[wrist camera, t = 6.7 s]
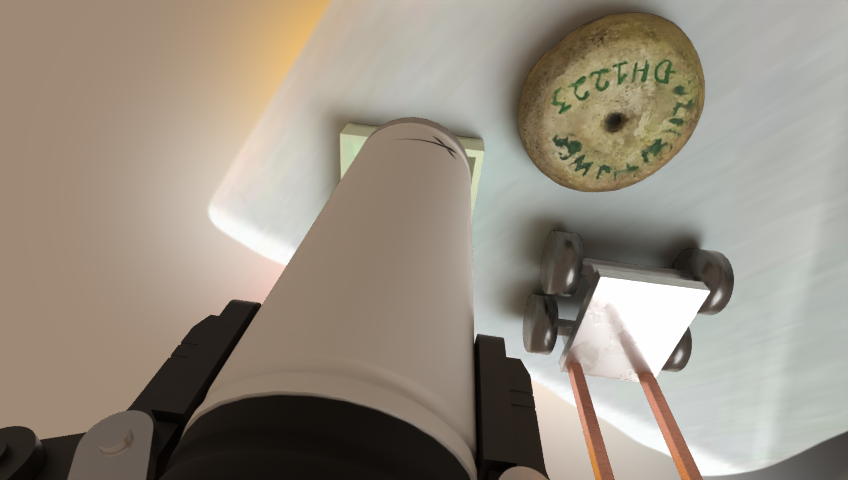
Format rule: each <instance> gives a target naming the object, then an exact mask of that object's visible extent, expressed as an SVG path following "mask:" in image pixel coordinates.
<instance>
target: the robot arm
mask: <svg viewBox="0 0 848 480" xmlns="http://www.w3.org/2000/svg"><path fill="white" fill-rule="evenodd" d="M261 306H262V305H261V304H260V303H257V302H249V301H242V300H231V301H230V302H229V303H228V305H227V306H226V307H225V309H224V310H223V311H222V313H221V314H220V315H219V316H215V315H210V316H208V317H207V318H205V319H204V320H202V321H201V322H200V323H198V324H197V325H195V326H194V327H193V328H192V329H191V330H190V332H189V333H188V334H187V335H186V337H185V338H184V339H183V340H182V342H181V345H178V347H177V348H176V349H175V350H174V352H173V353H172V354H171V358H168V359H167V361H166V362H165V363H164V364H163V366H162V367H161V368H160V370H159V371H158V372H157V373H156V375H155V376H154V377H153V378H152V380H151V381H150V382H149V384H148V385H147V386H146V387H145V389H144V390H143V391H142V392H141V394H140V395H139V396H138V397H137V399H136V400H135V401H134V402H133V404H132V405H131V406H130V407H129V408H128V409H127V410H126V411H123V412H119V413H116V414H113V415H111V416H109V417H107V418H105V419H103V420H101V421H100V422H98V423H97V424H95V425H94V426H93V427H92V428H91V429H89V430H88V432H85V433H81V434H75V435H68V436H61V437H55V438H49V439H43V440H39V439H38V438H37V436H36V435H35V434H34V432H33V431H32V430H30V429H29V428H26V427H21V426H12V427H6V428H2V429H0V480H159V479H160V478H161V477H162V476H163V475H164V472H165V469H166V466H167V464H168V462H169V459H170V457H171V455H172V453H173V451H174V450H175V448H176V447H177V445H178V443H179V442H180V439H181V437H182V434H183V432H184V429H185V427H186V425H187V423H188V422H189V420H190V419H191V417H192V415H193V414H194V412H195V411H196V409H197V408H198V407H199V406H200V405H201V404H202V403H203V402H204V400H205V398H206V395H207V393H208V391H209V388H210V387H211V385H212V384H213V382H214V380H215V379H216V377H217V376H218V374H219V373H220V371H221V369H222V368H223V366H224V365H225V363H226V361H227V360H228V358H229V357H230V355H231V353H232V352H233V350H234V349H235V347H236V346H237V344H238V342H239V341H240V339H241V338H242V336H243V334H244V333H245V331H246V330H247V328H248V327H249V325H250V323H251V322H252V320H253V319H254V317H255V315H256V314H257V312H258V311H259V309H260V307H261ZM474 356H475V401H476V447H477V456H476V462H475V465H476V468H477V480H550V479H549V477H548V475H547V472H546V469H545V464H544V458H543V453H542V446H541V440H540V434H539V427H538V421H537V415H536V411H535V403H534V397H533V390H532V384H531V378H530V374H529V373H528V371H527V369H526V368H525V366H524V364H523V363H522V361H521V360H520V359H516V358H509V357H506V351H505V342H504V338H502V337H495V336H488V335H481V334H477V337H476V340H475V344H474Z"/></svg>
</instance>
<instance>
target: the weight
mask: <svg viewBox="0 0 848 480" xmlns="http://www.w3.org/2000/svg"><path fill="white" fill-rule="evenodd" d="M704 98H705V80H704V75H703V70H702V66H701V62H700V59H699V57H698V54H697V52H696V50H695V48H694V46H693V44H692V42H691V41H690V39H689V38H688V37H687V35H686V34H685V33H684V32H683V31H682V30H681V29H680V28H679V27H678V26H677V25H675V24H674V23H673V22H671V21H669V20H667V19H665V18H662V17H660V16H656V15H653V14H646V13H620V14H611V15H607V16H603V17H601V18H598V19H595V20H593V21H590V22H588V23H586V24H584V25H582V26H580V27H578V28H577V29H575V30H574V31H572V32H571V33H570V34H568V35H567V36H566V37H565V38H563V39H562V40H561V41H560V42H559V43H558V44H557V45H556V46H555V47H554V48H553V49H551V50H550V51H548V52H547V53H545V54H544V55H543V56H542V57H541V58H540V59H539V61H538V62H537V63H536V65H535V66H534V67H533V68H532V70H531V71H530V74H529V76H528V78H527V80H526V83H525V85H524V88H523V91H522V95H521V98H520V101H519V108H518V124H519V130H520V137H521V140H522V144H523V146H524V149H525V150H526V152H527V154H528V156H529V157H530V159H531V160H532V162H533V163H534V164H535V165H536V167H537V168H538V169H539V170H540V171H541V172H542V173H543V174H545V175H546V176H547V177H549V178H550V179H552V180H553V181H554V182H556V183H557V184H559V185H561V186H564V187H567V188H570V189H573V190H578V191H583V192H605V191H615V190H619V189H621V188H625V187H628V186H631V185H633V184H635V183H638V182H640V181H642V180H644V179H645V178H647V177H648V176H650V175H652V174H654V173H655V172H656V171H658V170H659V169H660V168H661V167H663V166H664V165H665V164H667V163H668V162H669V161H670V160H671V159H672V158H673V157H674V156H675V155H676V154H677V153H678V152H679V151H680V150H681V149H682V148H683V146H684V145H685V144H686V143H687V141H688V140H689V138H690V137H691V135H692V133H693V131H694V130H695V128H696V126H697V124H698V121H699V119H700V116H701V113H702V110H703V106H704Z"/></svg>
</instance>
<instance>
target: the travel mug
mask: <svg viewBox="0 0 848 480" xmlns="http://www.w3.org/2000/svg"><path fill="white" fill-rule="evenodd" d="M476 456H477V447H476V401H475V356H474V311H473V265H472V220H471V175H470V164H469V159H468V156H467V154H466V151H465V149H464V147H463V145H462V144H461V143H460V141H459V140H458V139H457V137H456V136H455V135H453V134H452V133H451V132H450V131H449V130H448V129H446V128H445V127H443V126H441V125H440V124H438V123H435V122H433V121H430V120H427V119H422V118H415V117H412V118H400V119H396V120H392V121H390V122H388V123H386V124H384V125H382V126H380V127H379V128H378V129H376V130H375V131H374V132H373V133H372V134H371V135H370V136H369V137H368V139H367V140H366V141H365V143H364V144H363V146H362V147H361V149H360V151H359V152H358V154H357V155H356V157H355V158H354V160H353V162H352V163H351V165H350V166H349V168H348V170H347V171H346V173H345V174H344V176H343V177H342V179H341V181H340V182H339V184H338V185H337V187H336V189H335V190H334V192H333V193H332V195H331V196H330V198H329V200H328V201H327V203H326V204H325V206H324V208H323V209H322V211H321V212H320V214H319V216H318V217H317V219H316V220H315V222H314V223H313V225H312V227H311V228H310V230H309V231H308V233H307V235H306V236H305V238H304V239H303V241H302V242H301V244H300V246H299V247H298V249H297V250H296V252H295V254H294V255H293V257H292V258H291V260H290V262H289V263H288V265H287V266H286V268H285V270H284V271H283V273H282V274H281V276H280V277H279V279H278V281H277V282H276V284H275V285H274V287H273V289H272V290H271V292H270V294H269V295H268V297H267V298H266V300H265V301H264V303H263V304H262V306H261V307H260V309H259V311H258V312H257V314H256V315H255V317H254V319H253V320H252V322H251V323H250V325H249V327H248V328H247V330H246V331H245V333H244V334H243V336H242V338H241V339H240V341H239V342H238V344H237V346H236V347H235V349H234V350H233V352H232V353H231V355H230V357H229V358H228V360H227V361H226V363H225V365H224V366H223V368H222V369H221V371H220V373H219V374H218V376H217V377H216V379H215V380H214V382H213V384H212V385H211V387H210V388H209V391H208V393H207V395H206V398H205V400H204V402H203V403H202V404H201V405H200V406H199V407H198V408H197V409H196V411H195V412H194V414H193V415H192V417H191V419H190V420H189V422H188V423H187V425H186V427H185V429H184V432H183V434H182V437H181V439H180V442H179V443H178V445H177V447H176V448H175V450H174V451H173V453H172V455H171V457H170V459H169V462H168V464H167V466H166V469H165V472H164V475H163V476H162V477H161V478H160V479H159V480H477V468H476V465H475V462H476Z"/></svg>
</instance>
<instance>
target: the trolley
mask: <svg viewBox="0 0 848 480" xmlns="http://www.w3.org/2000/svg"><path fill="white" fill-rule="evenodd" d="M581 275H585V276H586V279H587V281H588V284H589V286H590V287H589V289H588V292H587V294H586V297H585V299H584V301H583V304H582V306H581V309H580V311H579V314H578V316H577V318H576V321H573V320H566V319H558V308H557V303H556V301H555V299H554V298H553V297H548V296H540V295H531V296H530V297H529V299H528V301H527V304H526V308H525V313H524V320H523V342H524V347H525V350H526V351H527V352H531V353H538V354H546V355H549V354H550V353H551V352H552V350H553V348H554V346H555V343H556V339H557V335H562V338H563V342H564V346H565V348H564V350H563V352H562V355H561V357H560V360H559V366H560V370H561V372H568V373H569V377H570V381H571V385H572V389H573V393H574V397H575V401H576V405H577V409H578V412H579V417H580V421H581V424H582V428H583V432H584V436H585V440H586V444H587V448H588V452H589V455H590V460H591V464H592V467H593V472H594V475H595V479H596V480H615V479H614V476H613V473H612V469H611V466H610V463H609V459H608V456H607V452H606V449H605V445H604V442H603V438H602V435H601V432H600V428H599V425H598V421H597V418H596V414H595V411H594V408H593V404H592V401H591V397H590V394H589V391H588V387H587V384H586V380H585V377H584V375H590V376H598V377H605V378H612V379H620V380H627V381H634V382H640V383H641V385H642V388H643V390H644V392H645V395H646V397H647V399H648V402H649V404H650V406H651V409H652V411H653V413H654V416H655V418H656V420H657V423H658V425H659V427H660V430H661V432H662V434H663V437H664V439H665V441H666V444H667V446H668V448H669V451H670V453H671V455H672V458H673V460H674V462H675V464H676V467H677V469H678V472H679V474H680V476H681V479H682V480H703V479H702V477H701V475H700V472H699V470H698V468H697V466H696V464H695V462H694V460H693V457H692V455H691V453H690V451H689V449H688V447H687V445H686V443H685V440H684V438H683V436H682V434H681V432H680V430H679V428H678V426H677V423H676V421H675V419H674V417H673V415H672V413H671V411H670V409H669V406H668V404H667V402H666V400H665V398H664V396H663V394H662V391H661V389H660V387H659V385H658V383H657V381H656V379H655V378H656V377H657V375H658V374H659V372H660V370H664V371H671V372H678V371H680V370H682V369H683V368H684V367H685V366H686V364H687V363H688V360H689V358H690V355H691V349H692V338H691V332H690V329H689V324H690V323H691V321H692V319H693V318H694V316H695V315H696V313H697V314H705V315H714V314H717V313H718V312H720V311H721V310H722V309H723V308H724V307H725V306H726V305H727V303H728V302H729V300H730V298H731V295H732V291H733V286H734V275H733V270H732V267H731V264H730V262H729V260H728V259H727V258H726V257H725V256H724V255H723V254H722V253H720V252H717V251H710V250H702V249H694V248H690V249H687V250H685V251H683V252H682V253H681V254H680V255H679V256H678V257H677V258H676V260H675V262H674V264H673V266H672V269H668V268H660V267H652V266H645V265H637V264H629V263H621V262H614V261H606V260H598V259H590V258H583V244H582V240H581V238H580V236H579V235H578V234H576V233H568V232H561V231H552V232H551V233H550V234H549V236H548V238H547V241H546V243H545V246H544V250H543V255H542V262H541V284H542V288H543V291H544V292H545V293H546V294H553V295H560V296H568V297H569V296H571V295H573V294H574V292H575V291H576V289H577V287H578V284H579V282H580V278H581Z"/></svg>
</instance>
